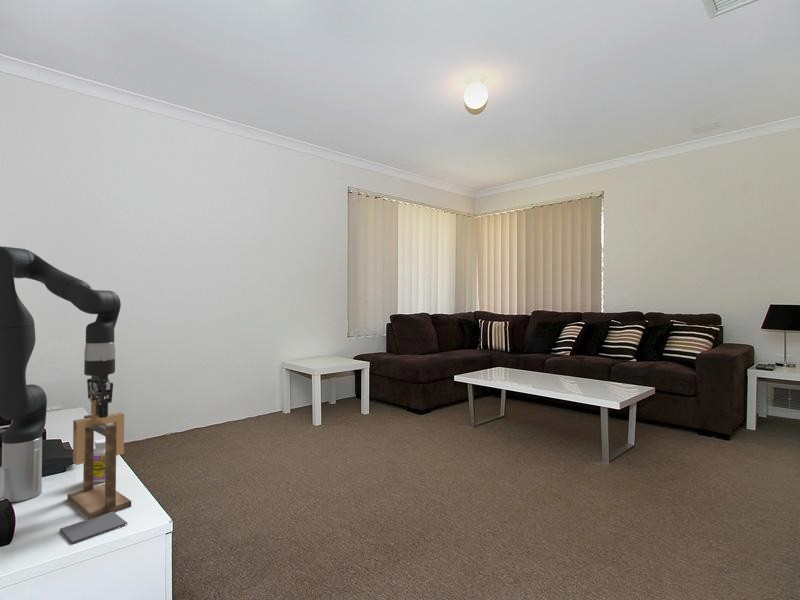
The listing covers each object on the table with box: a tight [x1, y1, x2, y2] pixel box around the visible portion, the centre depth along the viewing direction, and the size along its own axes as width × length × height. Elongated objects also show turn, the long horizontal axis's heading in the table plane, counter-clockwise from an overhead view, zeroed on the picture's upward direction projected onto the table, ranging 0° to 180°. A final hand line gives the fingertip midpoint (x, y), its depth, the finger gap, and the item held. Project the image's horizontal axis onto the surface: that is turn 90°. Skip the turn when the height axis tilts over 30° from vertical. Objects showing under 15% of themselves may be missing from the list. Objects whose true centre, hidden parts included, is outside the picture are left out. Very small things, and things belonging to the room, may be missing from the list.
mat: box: [59, 512, 128, 545], centre depth 115 cm, size 12×10×1 cm
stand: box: [67, 414, 132, 519], centre depth 130 cm, size 10×20×24 cm, turn 51°
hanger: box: [72, 399, 125, 466], centre depth 130 cm, size 12×3×17 cm, turn 141°
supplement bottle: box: [93, 438, 105, 484], centre depth 147 cm, size 7×7×13 cm
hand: (99, 415), depth 130 cm, fingers open, 5 cm apart
